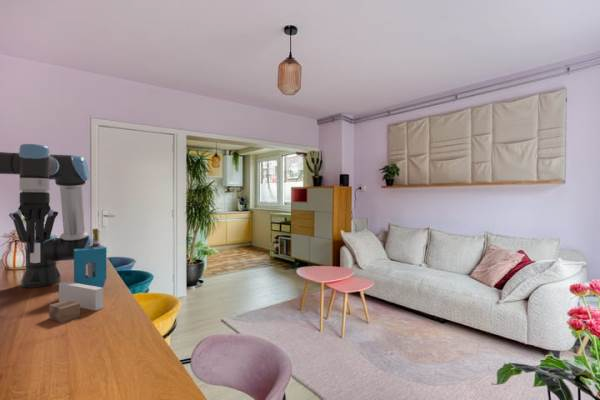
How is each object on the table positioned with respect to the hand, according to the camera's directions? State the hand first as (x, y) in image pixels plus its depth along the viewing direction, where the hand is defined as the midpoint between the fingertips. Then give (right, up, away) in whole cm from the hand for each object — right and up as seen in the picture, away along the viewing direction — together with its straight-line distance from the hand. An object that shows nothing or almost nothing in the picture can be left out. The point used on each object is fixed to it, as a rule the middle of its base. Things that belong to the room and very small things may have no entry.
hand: (35, 262), depth 101 cm
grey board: (0, -22, +21) cm, 30 cm away
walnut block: (+3, -22, +9) cm, 24 cm away
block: (-7, -21, +36) cm, 43 cm away
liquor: (-9, -21, +44) cm, 49 cm away
